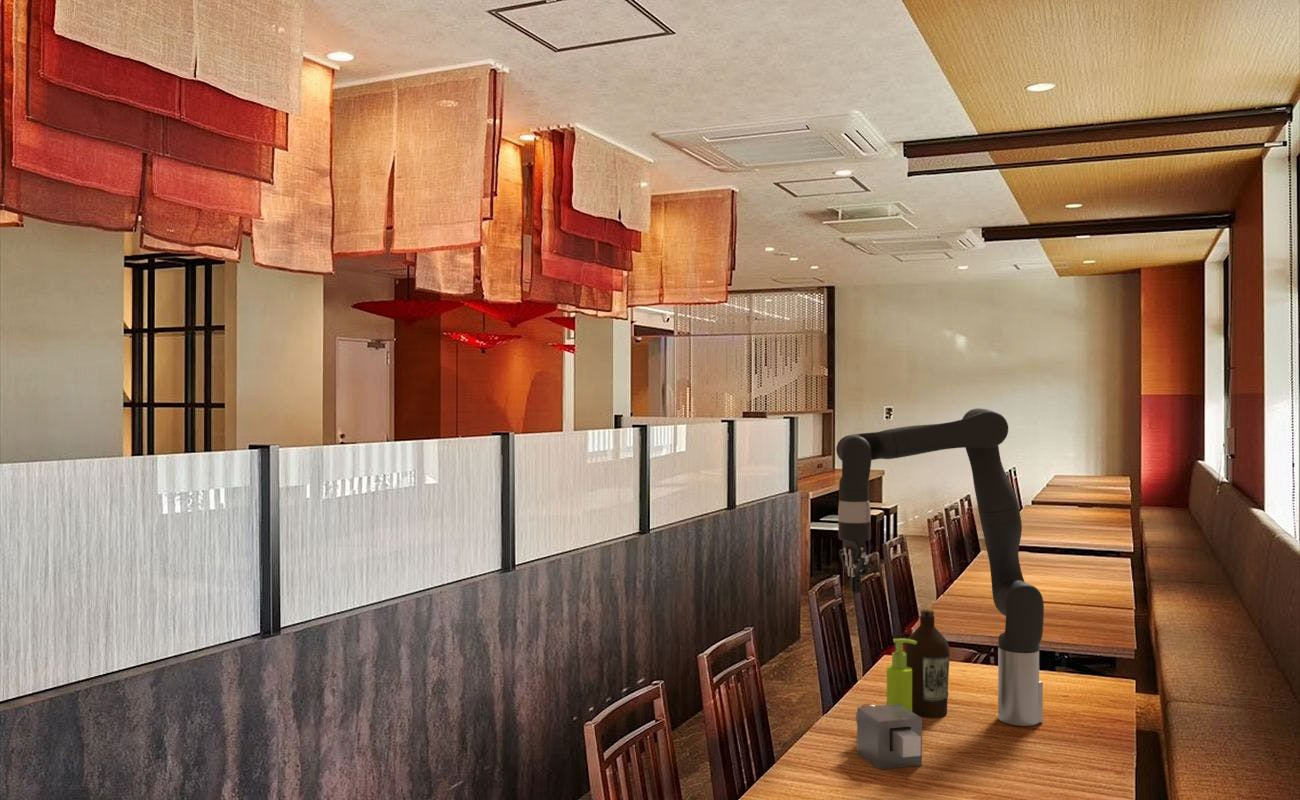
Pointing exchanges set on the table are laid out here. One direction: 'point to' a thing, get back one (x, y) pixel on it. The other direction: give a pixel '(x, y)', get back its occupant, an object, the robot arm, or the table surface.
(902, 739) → the shaft
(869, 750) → the grey box with hole
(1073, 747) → the table surface
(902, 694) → the soap dispenser
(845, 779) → the table surface
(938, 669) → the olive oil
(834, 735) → the table surface
